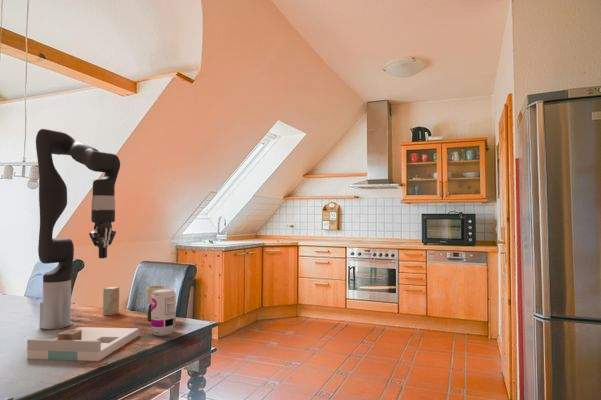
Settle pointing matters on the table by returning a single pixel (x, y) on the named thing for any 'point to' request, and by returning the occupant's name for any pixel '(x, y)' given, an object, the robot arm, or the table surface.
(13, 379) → the table surface
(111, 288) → the box
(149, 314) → the character mug
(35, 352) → the board
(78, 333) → the walnut block
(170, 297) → the supplement can
